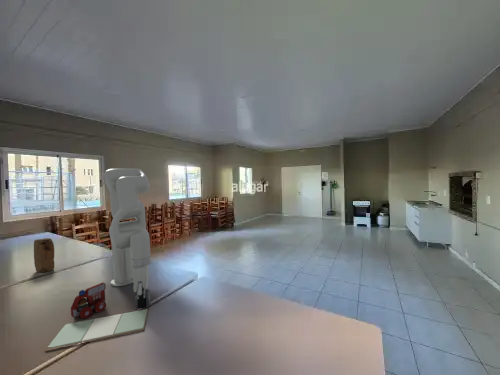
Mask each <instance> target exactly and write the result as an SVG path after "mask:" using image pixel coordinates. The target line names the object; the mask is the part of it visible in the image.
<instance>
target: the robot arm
mask: <svg viewBox="0 0 500 375" xmlns="http://www.w3.org/2000/svg"><path fill="white" fill-rule="evenodd" d="M103 178H104V182H105V185H106V187H107V190H108V192H109V197H110V210H111V211H110V212H111V217H112V220H111V223H110V226H109V229H108V233H109V238H110V242H111V243H110V244H111V250H112V251H111V252H112V267H113V269H112V270H113V272H112V273H113V279H112V280H111V281H110V285H111V286H112V287H123V286H124V287H125V286H128V285H131V284H132V287H133V289H132V292H133V293H137V292H138V299H137V301H138V308H141V309H145V308H144V307H146V306H147V304H146V297H145V291H146V290H148V286H149V281H150V280H149V279H150V275H149V266H150V265H151V264H152V259H151V245H150V244H151V243H150V242H151V240H150V239H151V238H150V233H149V232H148V230H147V224H146V222H147V221H146V220H147V219H146V209H145V208H146V207H145V205H144V203H143V201H142V200H140V198H139V194H142V193H143V194H145V193H148V192H149V191H150V187H151V185H150V181H149V179H148V177H147V174H146V173H145V172H144V171H143V169H140V168H109V169H107V170H105V171H104V177H103ZM129 219H130V220H129ZM131 219H135V220H131ZM122 220H127V221H122ZM120 221H121V222H120ZM142 292H144V295H143V293H142Z"/></svg>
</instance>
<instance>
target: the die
mask: <svg viewBox="0 0 500 375" xmlns="http://www.w3.org/2000/svg"><path fill="white" fill-rule="evenodd" d="M142 293H143V295H144V292H142ZM145 297H146V304H147V306H146V307H144V308H143V309H148V308H149V307H150V305H151V289H147V290H146V291H145ZM137 299H138V291H136V294H135V297H134V300H135V301H134V302H135V310H141V309H140V308H138V301H137Z"/></svg>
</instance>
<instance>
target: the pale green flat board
mask: <svg viewBox="0 0 500 375" xmlns="http://www.w3.org/2000/svg"><path fill="white" fill-rule="evenodd" d="M148 313H149V308H143V309H137V310H134V311H130V312H128V311H127V312H124V313H119V314H113V315H107V316H103V317H98V318H91V319H87V320H82V321H76V322H75V321H74V322H70V323H66V324H64V326H63V327H62V328H61V330H60V331H59V332H58V333H57V335H56V336H54V338H53V340H52V341H51V342H50V343H49V344H50V345H49V344H48V346H47V347H56V346H68V345H73V344H78V343H82V342H89V343H93V341H94V342H98V340H99V341H102V339H103V340H108V339H112V338H117V337H121V336H120V335H122V336H126V335H125V334H127V335H130V334H129V333H131V334H134V333H133V332H136V333H140V332H144V331H145V327H146V322H147V317H148ZM143 330H144V331H143ZM139 331H140V332H139ZM107 338H108V339H107Z"/></svg>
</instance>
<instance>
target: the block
mask: <svg viewBox="0 0 500 375" xmlns="http://www.w3.org/2000/svg"><path fill="white" fill-rule="evenodd" d="M33 259H34V260H33V261H34V262H33V264H34V267H35V268H34V269H35V272H37V273H48V272H51V271H53V270H55V245H54V241H53V240H52V238H50V237H49V238H48V237H45V238H39V239H37V238H36V239H35V240H33Z"/></svg>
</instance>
